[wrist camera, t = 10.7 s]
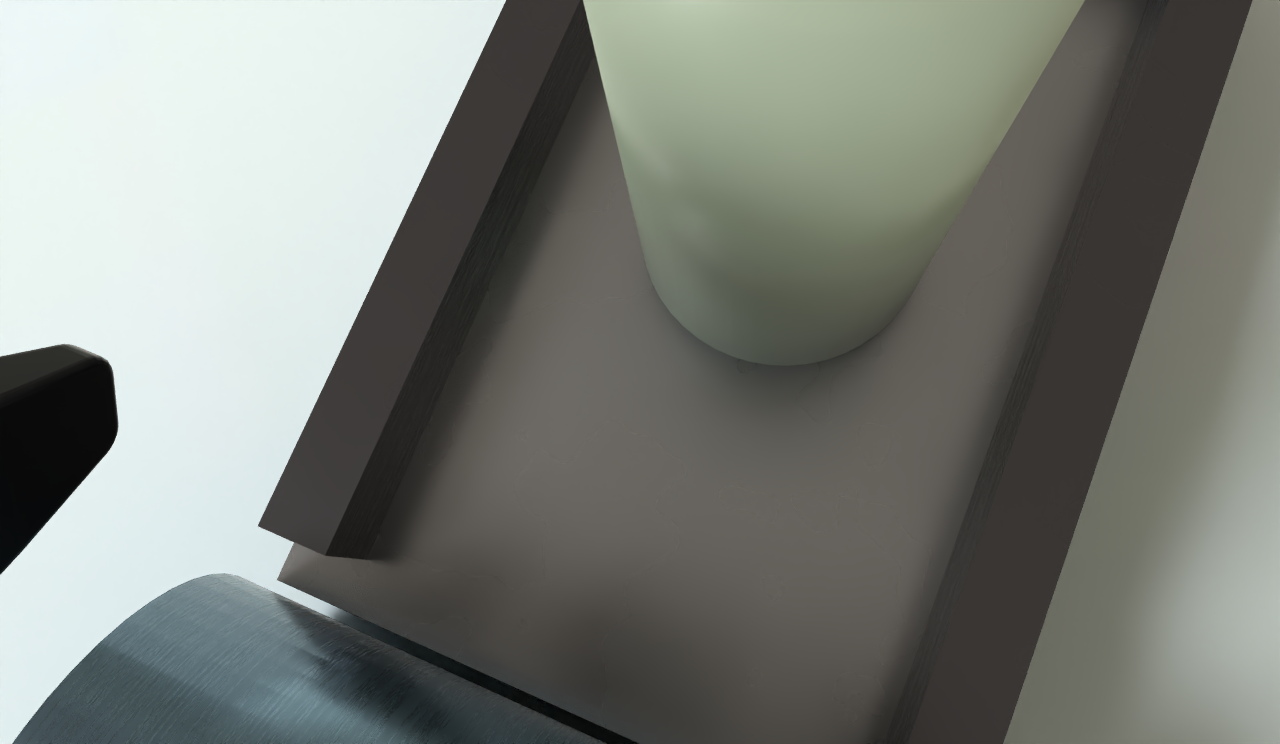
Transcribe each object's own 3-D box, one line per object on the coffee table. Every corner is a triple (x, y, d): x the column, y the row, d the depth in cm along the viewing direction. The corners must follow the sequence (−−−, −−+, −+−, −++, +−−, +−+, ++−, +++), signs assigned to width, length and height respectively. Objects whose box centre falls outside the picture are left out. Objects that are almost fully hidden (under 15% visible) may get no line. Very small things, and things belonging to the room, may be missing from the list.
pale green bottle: (870, 408, 17) (1208, -55, 5) (597, 305, 18) (336, -304, 6) (966, 149, 18) (1449, -768, 6) (703, 62, 19) (659, -906, 7)
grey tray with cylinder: (773, 1279, 17) (808, 1922, 9) (144, 944, 19) (-309, 1211, 11) (1225, -39, 21) (1537, -443, 13) (669, -199, 23) (632, -636, 15)
